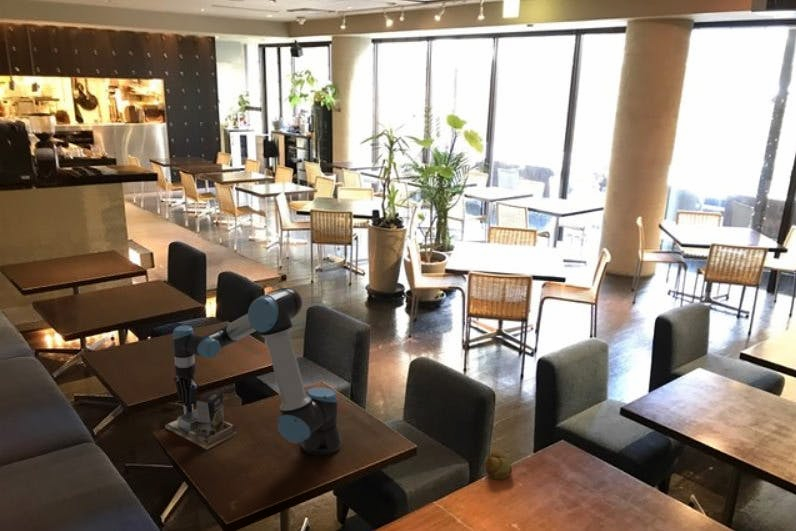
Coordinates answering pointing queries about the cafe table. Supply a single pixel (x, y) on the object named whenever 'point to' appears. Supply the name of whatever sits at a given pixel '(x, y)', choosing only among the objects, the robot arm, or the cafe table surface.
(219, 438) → the silver tray
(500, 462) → the olive snail shell
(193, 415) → the housing
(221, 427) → the coffee box
